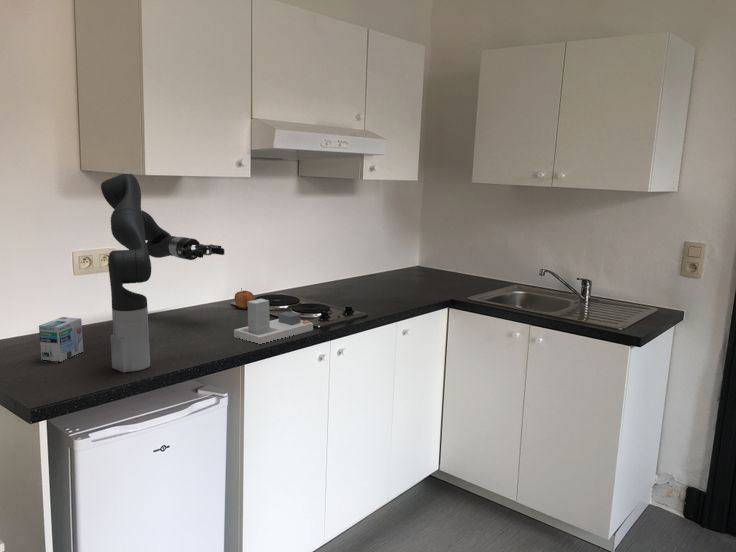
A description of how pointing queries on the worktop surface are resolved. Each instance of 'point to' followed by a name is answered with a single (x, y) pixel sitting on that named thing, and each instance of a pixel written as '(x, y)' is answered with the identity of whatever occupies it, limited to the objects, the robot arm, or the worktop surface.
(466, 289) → the worktop surface
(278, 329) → the grey rectangular base
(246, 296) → the apple
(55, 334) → the light bulb box
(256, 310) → the skincare box
